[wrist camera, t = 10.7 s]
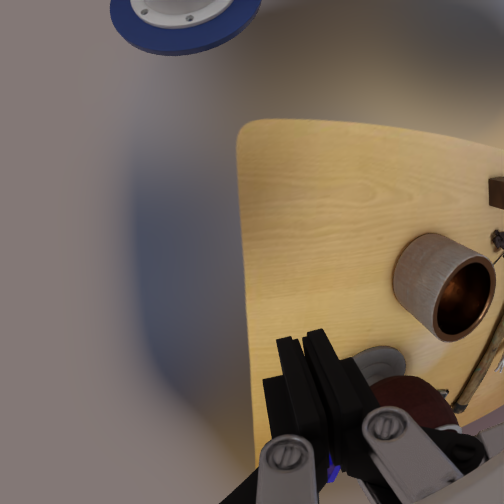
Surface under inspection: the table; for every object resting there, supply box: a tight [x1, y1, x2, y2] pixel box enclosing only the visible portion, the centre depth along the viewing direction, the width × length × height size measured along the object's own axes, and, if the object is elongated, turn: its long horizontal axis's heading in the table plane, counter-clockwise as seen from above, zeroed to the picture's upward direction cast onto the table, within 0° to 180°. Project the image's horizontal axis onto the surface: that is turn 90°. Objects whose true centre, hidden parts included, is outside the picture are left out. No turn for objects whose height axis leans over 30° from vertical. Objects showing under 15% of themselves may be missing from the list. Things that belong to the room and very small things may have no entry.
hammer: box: [452, 315, 504, 414], centre depth 40 cm, size 12×35×3 cm, turn 171°
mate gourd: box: [352, 346, 462, 434], centre depth 31 cm, size 16×14×20 cm
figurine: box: [493, 230, 504, 265], centre depth 34 cm, size 5×8×4 cm
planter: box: [393, 233, 496, 342], centre depth 31 cm, size 11×11×10 cm
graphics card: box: [438, 390, 449, 399], centre depth 44 cm, size 7×1×3 cm
